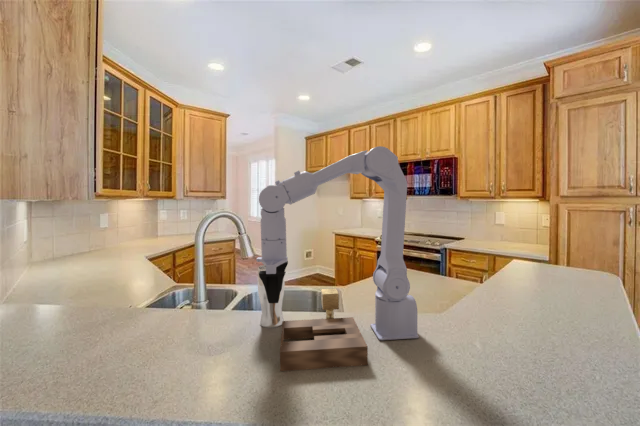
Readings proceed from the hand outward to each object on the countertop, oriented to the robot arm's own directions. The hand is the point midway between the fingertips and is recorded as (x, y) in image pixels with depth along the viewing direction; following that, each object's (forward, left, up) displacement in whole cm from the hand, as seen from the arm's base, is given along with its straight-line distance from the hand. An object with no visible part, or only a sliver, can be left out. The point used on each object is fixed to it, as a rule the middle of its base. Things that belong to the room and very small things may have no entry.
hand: (275, 296), depth 69 cm
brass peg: (-13, -6, -10) cm, 18 cm away
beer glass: (+2, -9, -10) cm, 14 cm away
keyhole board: (-10, +6, -10) cm, 15 cm away
